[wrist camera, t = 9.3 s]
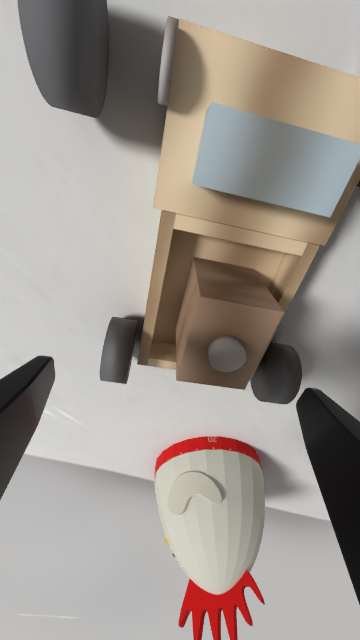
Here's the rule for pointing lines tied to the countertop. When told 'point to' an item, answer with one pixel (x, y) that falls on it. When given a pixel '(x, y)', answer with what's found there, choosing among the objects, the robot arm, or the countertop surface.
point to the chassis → (242, 184)
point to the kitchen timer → (212, 525)
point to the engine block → (223, 324)
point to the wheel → (68, 51)
